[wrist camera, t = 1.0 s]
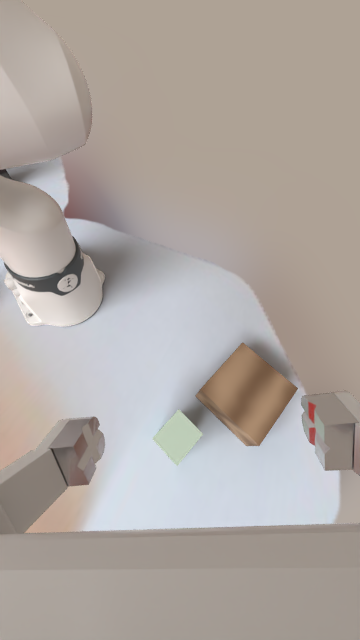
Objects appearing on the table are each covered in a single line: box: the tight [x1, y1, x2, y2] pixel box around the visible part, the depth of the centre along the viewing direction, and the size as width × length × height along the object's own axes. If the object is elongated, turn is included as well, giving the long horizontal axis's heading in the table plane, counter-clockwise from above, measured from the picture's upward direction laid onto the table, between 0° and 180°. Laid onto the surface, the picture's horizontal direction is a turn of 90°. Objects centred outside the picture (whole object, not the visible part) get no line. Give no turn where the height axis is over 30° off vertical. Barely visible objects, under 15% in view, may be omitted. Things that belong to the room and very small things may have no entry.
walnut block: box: [196, 343, 298, 446], centre depth 43 cm, size 12×12×6 cm
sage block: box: [153, 410, 203, 466], centre depth 36 cm, size 4×5×11 cm
